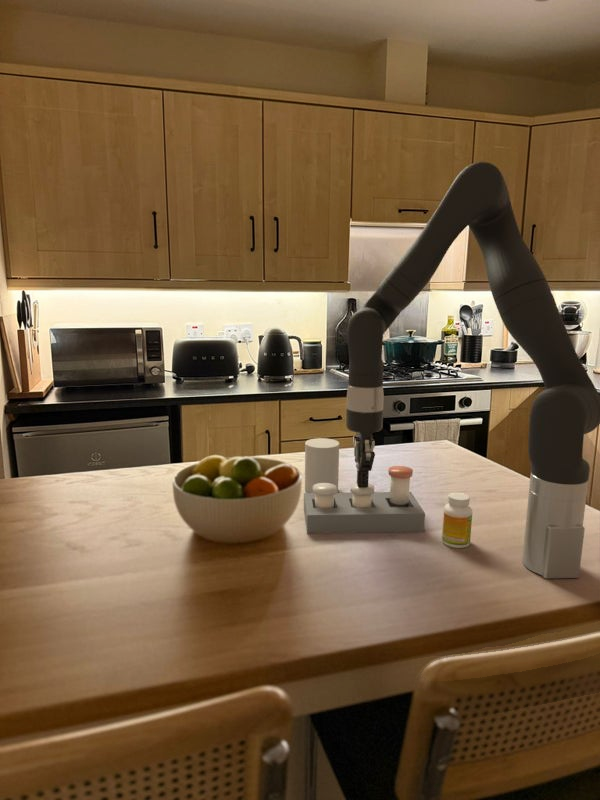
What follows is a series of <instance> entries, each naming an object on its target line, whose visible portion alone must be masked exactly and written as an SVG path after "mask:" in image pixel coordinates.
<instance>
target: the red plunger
mask: <svg viewBox="0 0 600 800" xmlns="http://www.w3.org/2000/svg"><path fill="white" fill-rule="evenodd" d="M413 472H414V471H413V469H412V468H411V467H409V466H404V465H393V466H389V468H388V476H390V483H389V484H390V485H389V488H390V489H389V492H390V502H391V503H394V504H398V505H404V504H407V503H409V492H410V487H411V483H410V482H411V477H413V474H414V473H413Z"/></svg>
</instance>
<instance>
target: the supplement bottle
mask: <svg viewBox="0 0 600 800" xmlns="http://www.w3.org/2000/svg"><path fill="white" fill-rule="evenodd" d="M443 507H444V508H443V518H442V533H441V541H442V543H443V544H445V545H446V546H447V547H450V548H454V549H455V548H456V549H463V548H467V547H469V546H470V545H471V535H472V523H473V522H472V520H473V509H472V507H471V506H470V495H468V494H466V493H462V492H450V493H449V494H448V496H447V503H446V504H445V505H444V506H443Z"/></svg>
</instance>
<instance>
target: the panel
mask: <svg viewBox="0 0 600 800" xmlns="http://www.w3.org/2000/svg"><path fill="white" fill-rule="evenodd" d="M352 502H353V493H352V492H337V493H336V494H334V508H315V494H314V493H306V492H304V493H303V514H304V520H305V526H306V528H305V529H306V534H308V535H309V534H313V535H314V534H358V533H359V534H360V533H363V534H364V533H365V534H367V533H368V534H369V533H373V534H374V533H419V532H421V533H425V522H426V512H425V511H424V510H423V507H421V505H420V503H419V501H418V500H417V499H416V497H415V496H414V494H413V493H412V491H409V503H407V504H404V505H398V504H394V503H391V502H390V491H378V492H377V491H376V492H375V491H374V493H373V494H372V500H371V507H361V508H352Z"/></svg>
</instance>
